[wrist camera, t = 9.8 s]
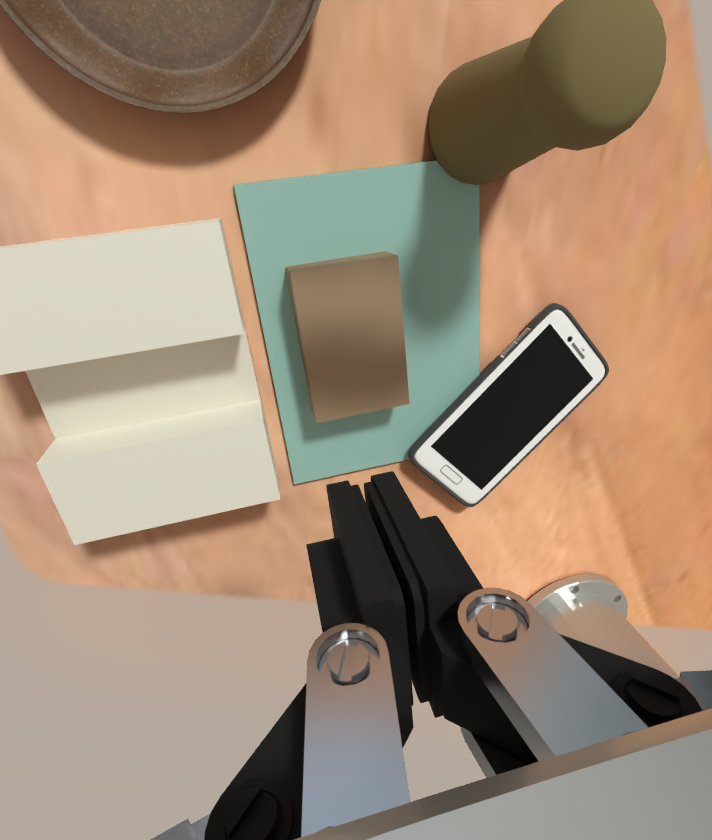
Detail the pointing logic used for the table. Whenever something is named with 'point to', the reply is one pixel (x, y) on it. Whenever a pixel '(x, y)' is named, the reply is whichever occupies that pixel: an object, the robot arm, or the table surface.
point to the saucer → (168, 46)
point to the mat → (420, 292)
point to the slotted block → (138, 376)
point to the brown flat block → (351, 334)
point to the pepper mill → (550, 89)
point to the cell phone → (511, 407)
